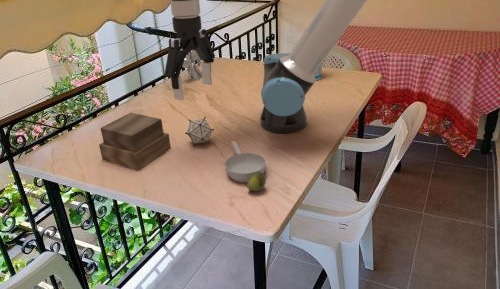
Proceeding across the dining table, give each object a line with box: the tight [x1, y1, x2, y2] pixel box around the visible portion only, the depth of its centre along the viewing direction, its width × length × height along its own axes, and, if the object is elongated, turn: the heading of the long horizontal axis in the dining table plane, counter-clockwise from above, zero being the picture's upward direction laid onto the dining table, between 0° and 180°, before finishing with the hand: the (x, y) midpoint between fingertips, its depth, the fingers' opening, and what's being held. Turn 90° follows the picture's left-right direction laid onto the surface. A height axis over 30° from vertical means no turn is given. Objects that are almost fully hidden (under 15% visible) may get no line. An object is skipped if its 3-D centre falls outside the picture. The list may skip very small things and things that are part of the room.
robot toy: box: [182, 50, 203, 81], centre depth 181 cm, size 15×6×15 cm, turn 158°
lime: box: [246, 172, 266, 192], centre depth 104 cm, size 4×5×5 cm
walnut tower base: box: [98, 112, 172, 171], centre depth 123 cm, size 14×14×10 cm
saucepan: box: [224, 140, 267, 183], centre depth 115 cm, size 11×18×4 cm, turn 17°
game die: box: [184, 116, 215, 147], centre depth 128 cm, size 9×8×10 cm
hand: (194, 91), depth 122 cm, fingers open, 13 cm apart
